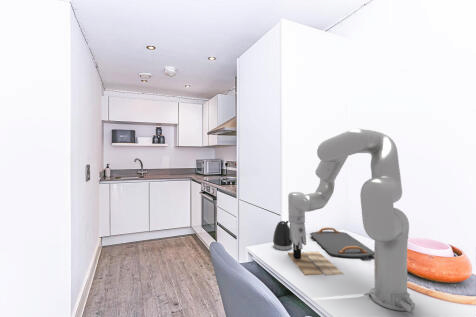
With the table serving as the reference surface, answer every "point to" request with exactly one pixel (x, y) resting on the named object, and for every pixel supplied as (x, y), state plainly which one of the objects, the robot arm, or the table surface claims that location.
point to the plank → (305, 265)
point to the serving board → (341, 244)
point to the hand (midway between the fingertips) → (297, 257)
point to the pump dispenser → (282, 236)
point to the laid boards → (323, 263)
